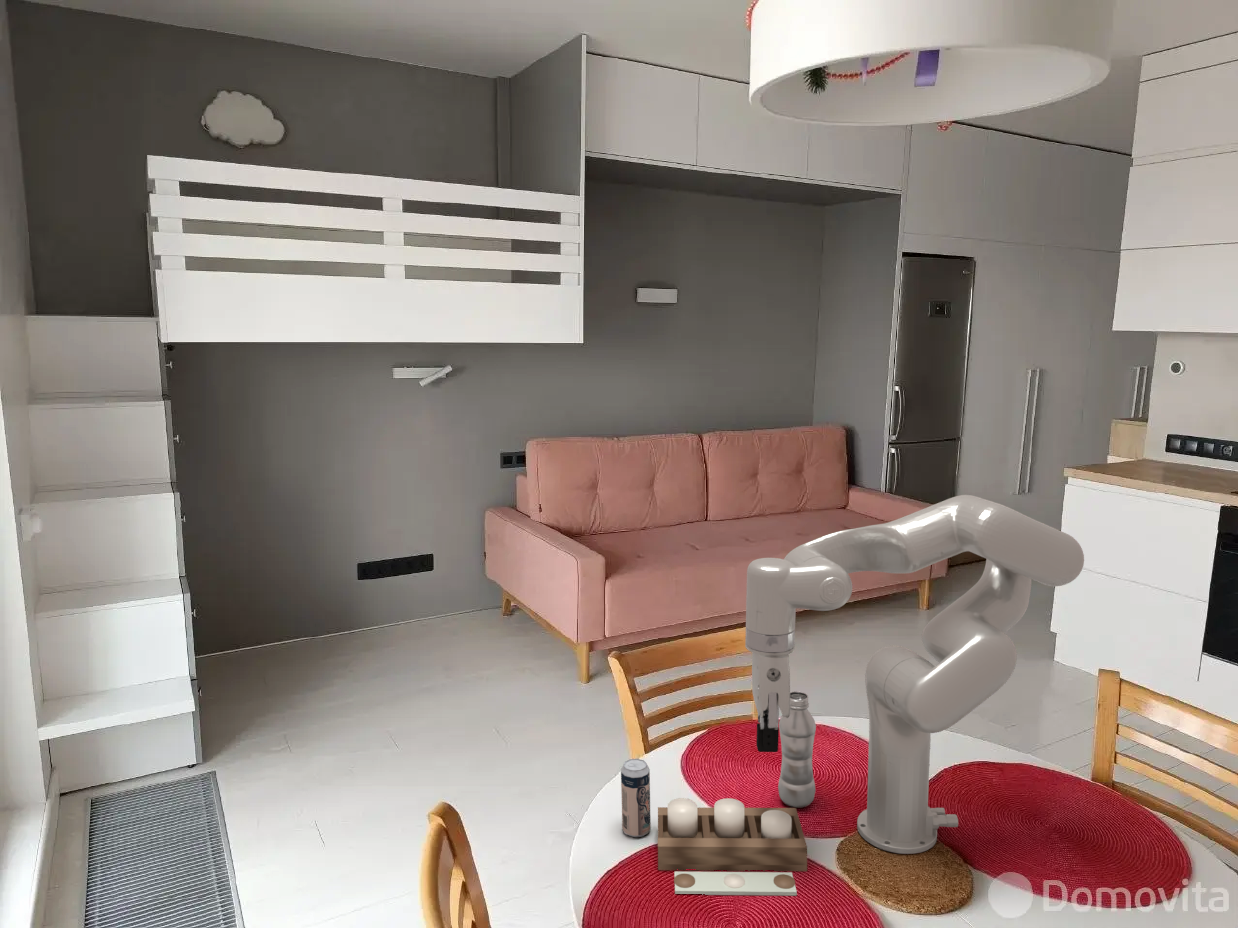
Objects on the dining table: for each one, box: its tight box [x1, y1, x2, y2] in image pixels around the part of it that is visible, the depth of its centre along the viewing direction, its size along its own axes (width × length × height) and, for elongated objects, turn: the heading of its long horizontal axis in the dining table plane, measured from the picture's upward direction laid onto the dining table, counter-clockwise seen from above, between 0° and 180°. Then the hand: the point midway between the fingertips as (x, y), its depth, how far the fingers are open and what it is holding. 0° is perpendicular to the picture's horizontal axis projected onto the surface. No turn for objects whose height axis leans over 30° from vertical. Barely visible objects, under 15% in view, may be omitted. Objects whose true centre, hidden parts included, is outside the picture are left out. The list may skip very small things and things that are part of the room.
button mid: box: [713, 797, 745, 838], centre depth 137 cm, size 5×5×4 cm
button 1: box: [667, 797, 698, 838], centre depth 138 cm, size 5×5×4 cm
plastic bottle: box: [777, 690, 817, 809], centre depth 150 cm, size 6×7×20 cm
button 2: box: [761, 810, 792, 839], centre depth 137 cm, size 5×5×4 cm
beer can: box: [620, 758, 652, 838], centre depth 143 cm, size 5×5×12 cm
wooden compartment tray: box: [657, 806, 808, 872], centre depth 138 cm, size 23×11×4 cm, turn 87°
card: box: [673, 870, 798, 897], centre depth 129 cm, size 18×5×1 cm, turn 87°
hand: (767, 749), depth 135 cm, fingers closed
